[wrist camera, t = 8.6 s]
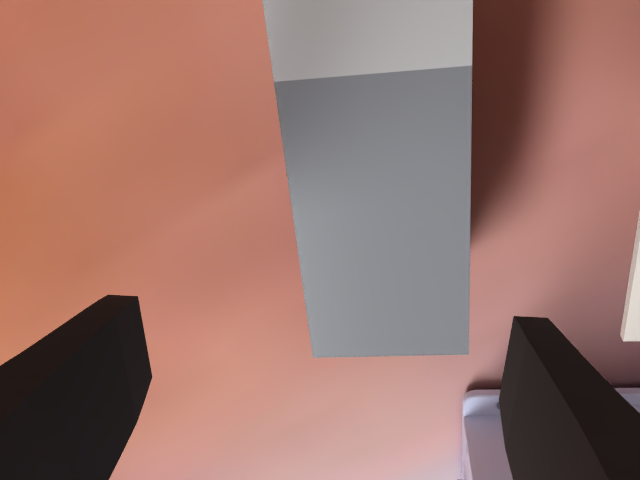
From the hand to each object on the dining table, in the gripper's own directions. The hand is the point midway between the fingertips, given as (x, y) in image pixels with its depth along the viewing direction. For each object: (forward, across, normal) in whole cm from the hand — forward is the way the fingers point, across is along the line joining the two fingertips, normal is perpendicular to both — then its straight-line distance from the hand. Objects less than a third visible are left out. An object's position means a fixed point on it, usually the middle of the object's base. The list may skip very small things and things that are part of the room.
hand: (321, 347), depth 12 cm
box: (+9, -1, -2) cm, 10 cm away
